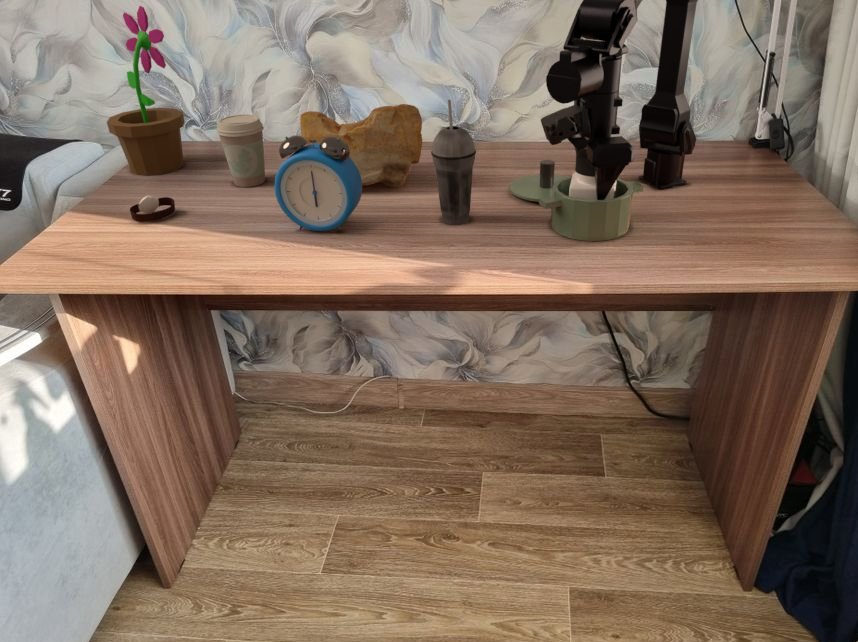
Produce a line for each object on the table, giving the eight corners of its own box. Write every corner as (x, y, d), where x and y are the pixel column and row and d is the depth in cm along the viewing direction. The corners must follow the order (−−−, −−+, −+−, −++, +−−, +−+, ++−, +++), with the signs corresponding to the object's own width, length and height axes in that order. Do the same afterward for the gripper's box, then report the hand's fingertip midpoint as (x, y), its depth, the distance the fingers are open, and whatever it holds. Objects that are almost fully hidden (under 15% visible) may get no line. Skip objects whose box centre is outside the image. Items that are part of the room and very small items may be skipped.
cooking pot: (523, 221, 122) (524, 183, 119) (615, 204, 128) (618, 167, 125) (560, 249, 112) (562, 209, 109) (658, 229, 118) (662, 191, 115)
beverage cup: (482, 213, 125) (481, 94, 115) (469, 230, 120) (466, 105, 109) (443, 209, 128) (438, 91, 117) (427, 225, 122) (421, 102, 111)
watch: (170, 207, 131) (165, 188, 129) (182, 214, 128) (177, 194, 126) (128, 219, 127) (122, 199, 125) (139, 226, 124) (133, 206, 122)
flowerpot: (208, 162, 152) (175, 5, 136) (151, 183, 142) (107, 15, 126) (164, 152, 159) (127, 1, 143) (106, 171, 149) (59, 11, 133)
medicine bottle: (611, 232, 116) (618, 158, 110) (566, 229, 118) (571, 156, 111) (613, 215, 122) (619, 144, 116) (570, 212, 124) (574, 142, 117)
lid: (497, 185, 137) (497, 156, 134) (560, 175, 141) (562, 146, 138) (530, 210, 126) (530, 179, 123) (597, 198, 131) (600, 167, 128)
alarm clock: (280, 231, 121) (265, 141, 113) (293, 217, 126) (279, 130, 118) (356, 234, 119) (346, 143, 111) (367, 220, 124) (358, 131, 116)
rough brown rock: (440, 171, 147) (435, 93, 140) (421, 194, 132) (415, 108, 126) (330, 171, 151) (320, 95, 144) (300, 193, 136) (288, 110, 129)
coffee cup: (218, 186, 140) (204, 123, 133) (245, 172, 146) (233, 112, 140) (255, 191, 137) (243, 127, 131) (281, 177, 144) (271, 115, 137)
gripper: (533, 78, 116) (530, 174, 124) (562, 108, 100) (557, 215, 108) (601, 75, 117) (594, 170, 125) (640, 103, 101) (629, 210, 109)
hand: (592, 190), depth 117 cm, fingers open, 9 cm apart
